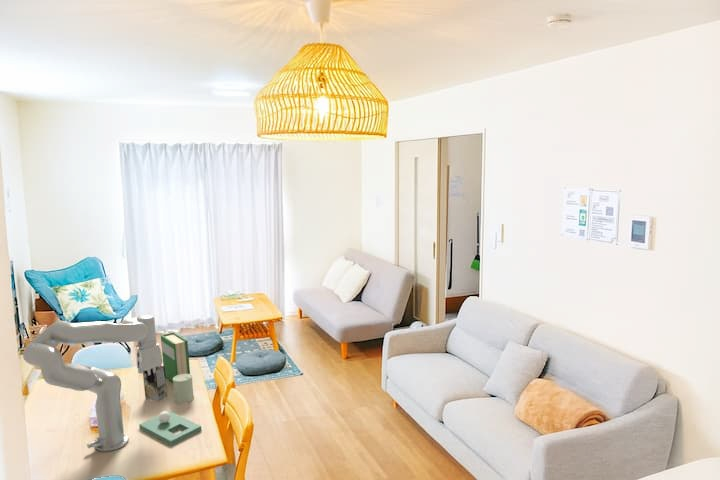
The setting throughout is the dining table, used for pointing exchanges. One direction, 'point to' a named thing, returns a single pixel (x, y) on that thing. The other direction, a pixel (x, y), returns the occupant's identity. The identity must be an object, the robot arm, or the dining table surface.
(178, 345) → the hardback book
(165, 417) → the ball
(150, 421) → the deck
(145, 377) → the coffee box
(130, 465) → the dining table surface
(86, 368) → the robot arm
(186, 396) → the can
